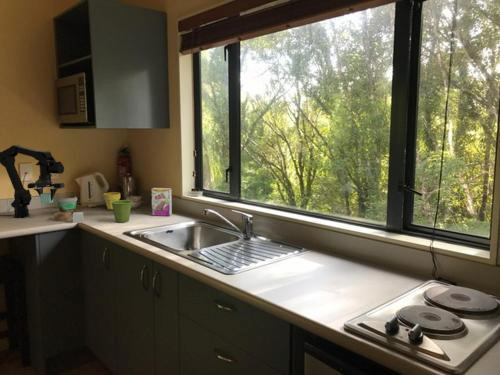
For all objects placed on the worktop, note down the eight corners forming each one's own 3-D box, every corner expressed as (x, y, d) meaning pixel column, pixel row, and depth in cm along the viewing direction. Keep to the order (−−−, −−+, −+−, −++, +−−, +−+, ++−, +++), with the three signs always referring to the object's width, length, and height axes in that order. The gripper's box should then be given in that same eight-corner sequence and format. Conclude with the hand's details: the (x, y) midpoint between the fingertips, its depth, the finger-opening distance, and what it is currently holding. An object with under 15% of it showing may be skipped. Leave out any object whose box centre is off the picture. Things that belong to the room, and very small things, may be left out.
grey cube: (73, 223, 233) (72, 214, 232) (74, 221, 237) (73, 212, 237) (82, 222, 234) (82, 213, 233) (83, 220, 239) (83, 212, 238)
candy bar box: (151, 216, 253) (150, 188, 251) (154, 214, 258) (153, 187, 256) (169, 216, 252) (169, 189, 250) (172, 214, 257) (171, 188, 255)
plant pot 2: (125, 224, 230) (124, 203, 228) (106, 222, 234) (106, 202, 232) (137, 220, 241) (137, 200, 240) (119, 218, 245) (119, 199, 243)
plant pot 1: (104, 210, 270) (103, 195, 269) (104, 207, 280) (103, 192, 278) (121, 209, 273) (120, 194, 272) (120, 206, 283) (119, 192, 282)
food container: (63, 216, 250) (62, 199, 249) (57, 215, 254) (56, 198, 253) (82, 213, 260) (81, 197, 259) (76, 212, 264) (75, 196, 262)
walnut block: (53, 221, 238) (53, 214, 237) (59, 218, 245) (59, 211, 244) (65, 221, 238) (65, 214, 237) (71, 218, 244) (71, 212, 244)
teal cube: (40, 202, 241) (40, 194, 240) (44, 201, 246) (44, 192, 245) (49, 202, 241) (49, 194, 241) (53, 201, 246) (52, 192, 245)
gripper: (21, 174, 233) (23, 202, 235) (56, 174, 234) (57, 202, 236) (31, 172, 244) (33, 199, 246) (64, 172, 245) (65, 199, 247)
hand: (47, 200), depth 243 cm, fingers closed on teal cube, 5 cm apart
